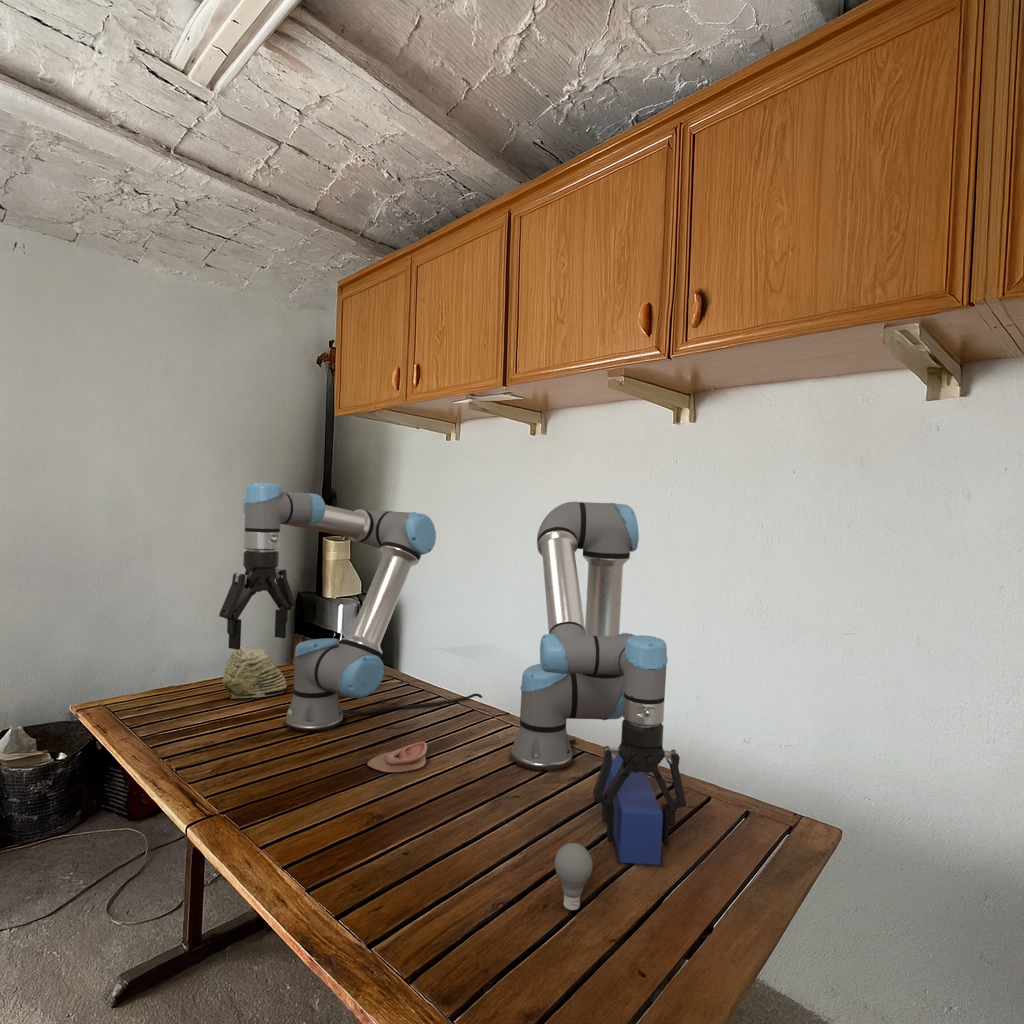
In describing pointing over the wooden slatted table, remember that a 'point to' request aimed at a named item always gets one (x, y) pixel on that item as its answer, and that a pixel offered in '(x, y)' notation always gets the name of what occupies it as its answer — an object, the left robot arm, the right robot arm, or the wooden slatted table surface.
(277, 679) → the fossil
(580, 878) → the light bulb
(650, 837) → the box
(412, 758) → the anatomical model
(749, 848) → the wooden slatted table surface
